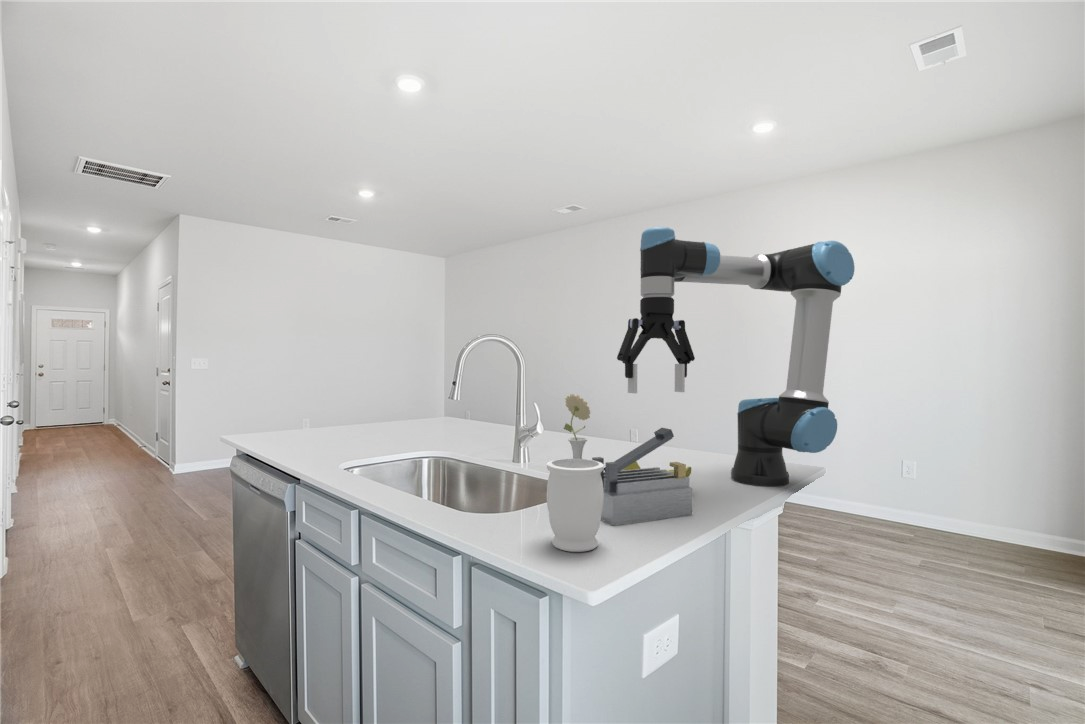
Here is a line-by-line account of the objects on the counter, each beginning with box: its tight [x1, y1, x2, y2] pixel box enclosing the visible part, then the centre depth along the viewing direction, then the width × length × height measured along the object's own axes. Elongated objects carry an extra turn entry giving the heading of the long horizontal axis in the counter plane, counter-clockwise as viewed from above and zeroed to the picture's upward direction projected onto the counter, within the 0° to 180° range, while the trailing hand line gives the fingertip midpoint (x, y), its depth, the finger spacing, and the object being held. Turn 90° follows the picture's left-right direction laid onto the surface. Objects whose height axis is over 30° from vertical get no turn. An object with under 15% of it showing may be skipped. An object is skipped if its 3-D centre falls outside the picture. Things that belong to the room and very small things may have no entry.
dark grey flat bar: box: [604, 427, 675, 472], centre depth 120 cm, size 18×4×2 cm, turn 113°
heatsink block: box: [591, 456, 694, 527], centre depth 119 cm, size 20×14×12 cm
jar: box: [546, 458, 605, 553], centre depth 98 cm, size 11×10×15 cm
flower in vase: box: [563, 393, 591, 459], centre depth 136 cm, size 13×11×25 cm
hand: (656, 392), depth 122 cm, fingers open, 12 cm apart
